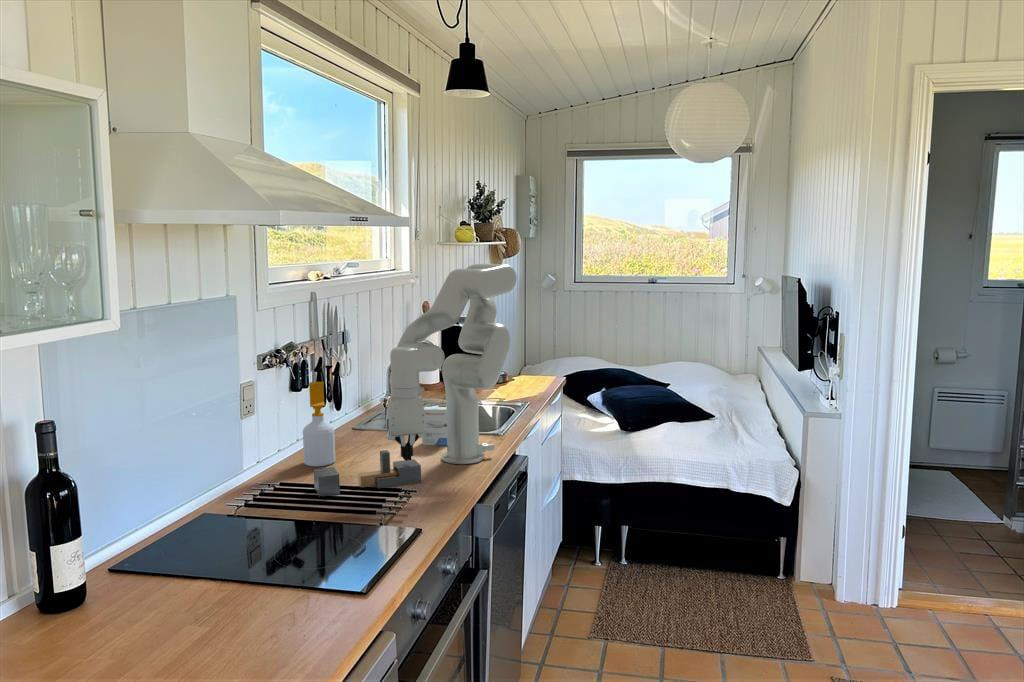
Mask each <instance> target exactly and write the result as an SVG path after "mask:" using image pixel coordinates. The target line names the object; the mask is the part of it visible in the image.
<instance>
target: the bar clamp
mask: <svg viewBox="0 0 1024 682" xmlns="http://www.w3.org/2000/svg"><path fill="white" fill-rule="evenodd" d="M396 468H397V469H398V476H391V477H383V478H376V488H377V489H383V488H391V487H397V486H405V485H413V484H421V483H422V465H421V464H420V463H419V462H418V461H417V460H416V459H414V458H413V459H412V458H411V460H407V461H405V460H404V459H402V460H397V461H393V462H392V469H396ZM313 485H314V490H315V492H316V491H317V492H316V493H318V494H317V495H319V496H318V497H319V498H321V497H320V496H322V497H327V495H329V496H335V495H334V494H337V495H340V494H341V489H340V488H341V486H340V485H341V484H340V473H339V472H338V471H337V469H336V468H335V467H334V466H333V467H323V468H315V469H313Z"/></svg>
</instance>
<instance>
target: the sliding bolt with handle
mask: <svg viewBox="0 0 1024 682" xmlns="http://www.w3.org/2000/svg"><path fill="white" fill-rule="evenodd" d="M390 456H391V452H390V451H389V450H388V449H386V450H379V465H380V467H379V468H380V470H373V471H365V472H358V473H357V476H358V477H357V479H358V481H357V482H358V486H359V487H360V488H367V487H375V486H376V478H383V477H391V476H398V469H397V468H396V469H393V468H391V457H390ZM376 487H377V486H376Z"/></svg>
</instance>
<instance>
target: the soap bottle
mask: <svg viewBox="0 0 1024 682" xmlns="http://www.w3.org/2000/svg"><path fill="white" fill-rule="evenodd" d="M324 383H325V382H324V381H312V382H310V381H309V383H308V385H309V405H310V407H309V408H312V409H313V410H314V412H312V414H311V422H309V423H308V424H307V425H306V426H304V427H303V429H302V443H303V447H302V448H303V463H304V465H306V466H309V467H314V468H315V467H316V468H317V467H319V468H320V467H326V466H330V465H332V464H334V463H335V462H336V446H335V445H336V444H335V443H336V441H335V440H336V439H335V429H334V426H333V425H332V424H331V423H330V422H327V421H326V420H325V419H324V418H325V417H324V412H321V409H323V407H326V405H325V390H324V389H325V388H324Z"/></svg>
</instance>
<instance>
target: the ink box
mask: <svg viewBox="0 0 1024 682" xmlns="http://www.w3.org/2000/svg"><path fill="white" fill-rule="evenodd" d="M424 412H425V421H426V429H425V432H426V436H424V437H421V443H422V446H447V413H446V406H424Z"/></svg>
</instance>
